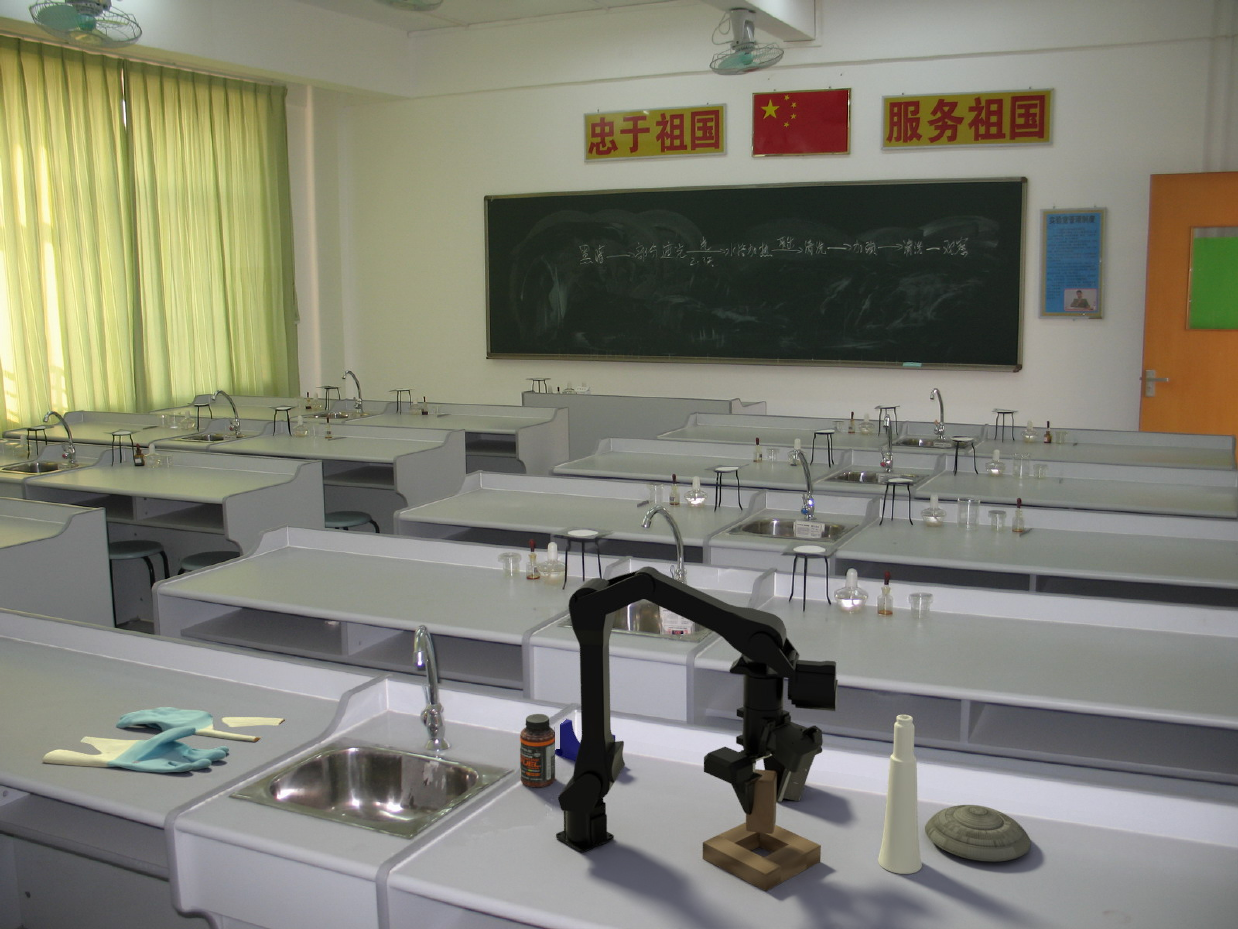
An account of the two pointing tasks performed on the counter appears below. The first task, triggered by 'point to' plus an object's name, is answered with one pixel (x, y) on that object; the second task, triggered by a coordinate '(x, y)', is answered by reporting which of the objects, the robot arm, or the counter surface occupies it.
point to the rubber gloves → (160, 742)
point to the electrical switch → (794, 785)
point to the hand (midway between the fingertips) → (761, 808)
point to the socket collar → (760, 871)
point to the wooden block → (763, 804)
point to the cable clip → (568, 741)
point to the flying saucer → (978, 833)
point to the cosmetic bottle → (901, 804)
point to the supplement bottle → (537, 752)
